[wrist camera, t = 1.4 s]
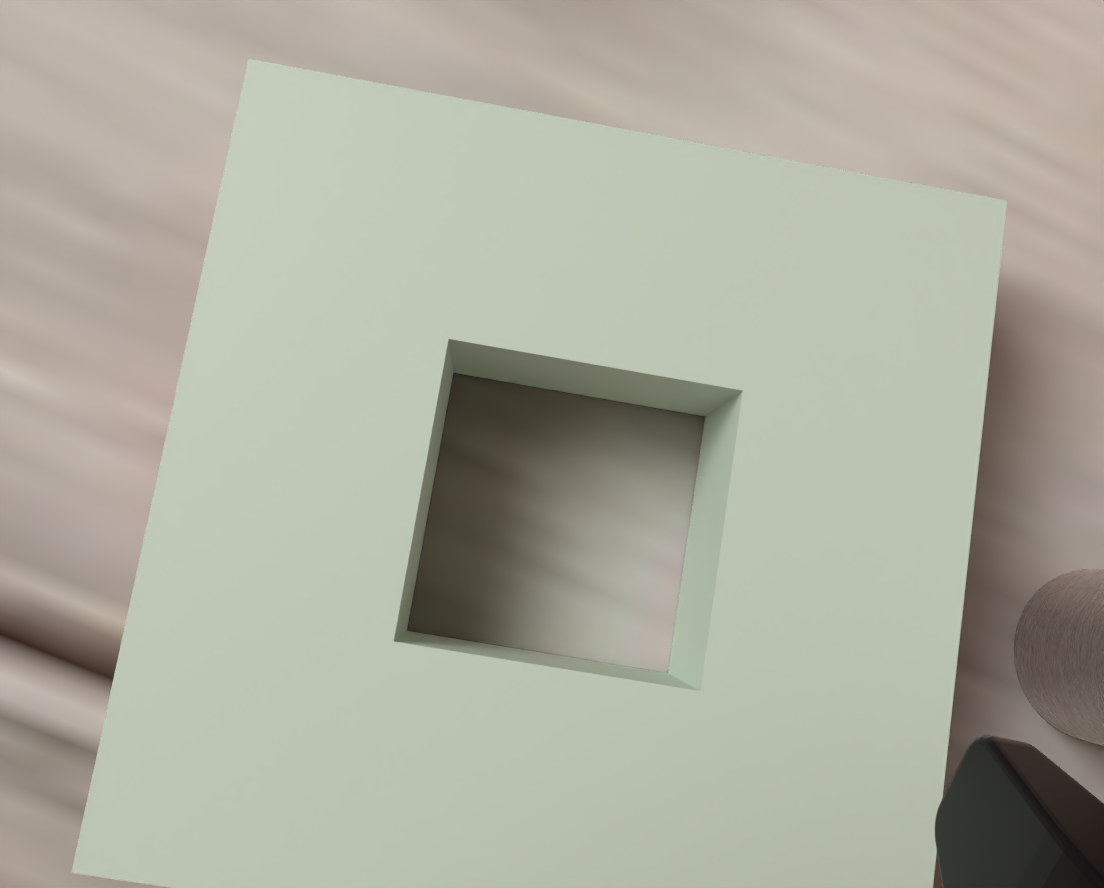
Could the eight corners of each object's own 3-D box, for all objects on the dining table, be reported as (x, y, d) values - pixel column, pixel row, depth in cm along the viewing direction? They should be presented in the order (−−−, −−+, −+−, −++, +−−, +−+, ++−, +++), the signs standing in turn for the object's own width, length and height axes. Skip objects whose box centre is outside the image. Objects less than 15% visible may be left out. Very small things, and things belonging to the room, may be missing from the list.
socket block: (853, 933, 23) (920, 998, 19) (136, 825, 22) (71, 872, 19) (933, 252, 25) (1007, 200, 21) (281, 132, 24) (248, 58, 21)
